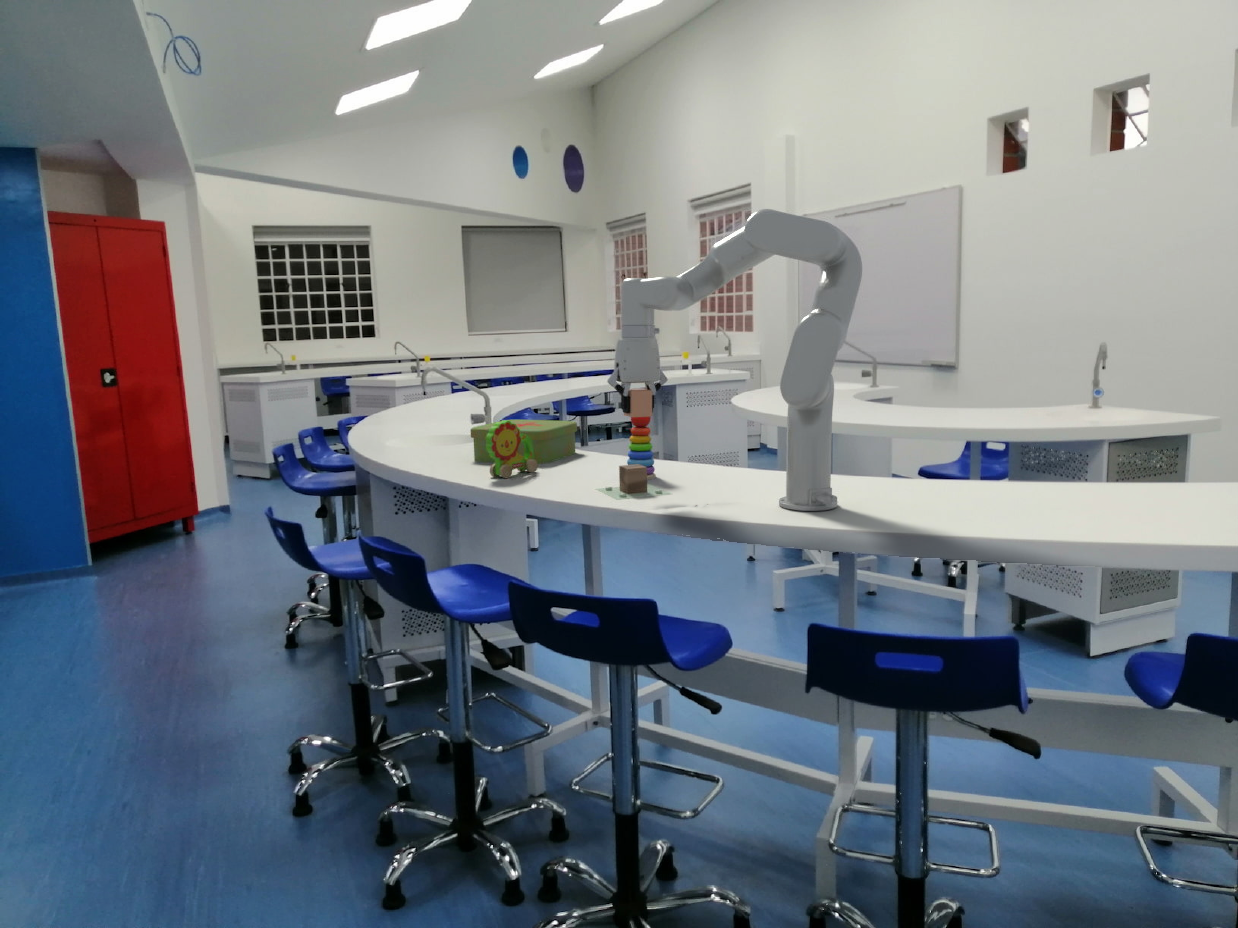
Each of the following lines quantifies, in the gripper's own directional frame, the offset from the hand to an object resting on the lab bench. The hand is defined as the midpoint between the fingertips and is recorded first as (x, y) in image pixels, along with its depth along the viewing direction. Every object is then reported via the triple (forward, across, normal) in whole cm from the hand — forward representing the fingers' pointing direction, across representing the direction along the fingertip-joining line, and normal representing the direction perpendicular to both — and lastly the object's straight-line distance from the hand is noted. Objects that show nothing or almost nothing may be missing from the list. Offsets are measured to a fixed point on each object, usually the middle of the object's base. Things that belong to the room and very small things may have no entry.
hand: (637, 411), depth 205 cm
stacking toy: (+20, -8, -18) cm, 29 cm away
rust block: (+1, 0, 0) cm, 1 cm away
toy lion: (+21, +19, -42) cm, 51 cm away
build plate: (+20, +1, -1) cm, 20 cm away
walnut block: (+19, +1, -1) cm, 19 cm away
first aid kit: (+22, +6, -73) cm, 77 cm away
